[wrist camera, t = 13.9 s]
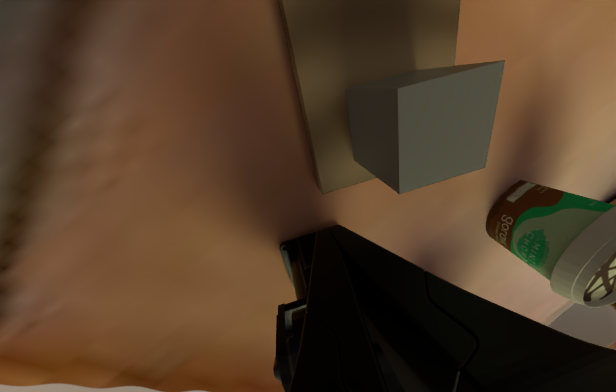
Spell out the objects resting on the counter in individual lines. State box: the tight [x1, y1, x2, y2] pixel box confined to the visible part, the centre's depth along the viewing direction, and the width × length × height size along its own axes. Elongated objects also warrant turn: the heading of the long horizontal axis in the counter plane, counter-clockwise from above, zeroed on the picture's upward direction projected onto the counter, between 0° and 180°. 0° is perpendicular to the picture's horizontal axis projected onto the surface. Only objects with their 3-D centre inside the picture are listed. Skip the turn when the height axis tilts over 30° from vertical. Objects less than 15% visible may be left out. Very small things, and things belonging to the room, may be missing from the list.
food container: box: [486, 180, 616, 308], centre depth 24 cm, size 12×6×10 cm, turn 27°
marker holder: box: [278, 0, 460, 194], centre depth 13 cm, size 22×12×7 cm, turn 12°
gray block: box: [346, 60, 505, 194], centre depth 14 cm, size 6×6×7 cm
